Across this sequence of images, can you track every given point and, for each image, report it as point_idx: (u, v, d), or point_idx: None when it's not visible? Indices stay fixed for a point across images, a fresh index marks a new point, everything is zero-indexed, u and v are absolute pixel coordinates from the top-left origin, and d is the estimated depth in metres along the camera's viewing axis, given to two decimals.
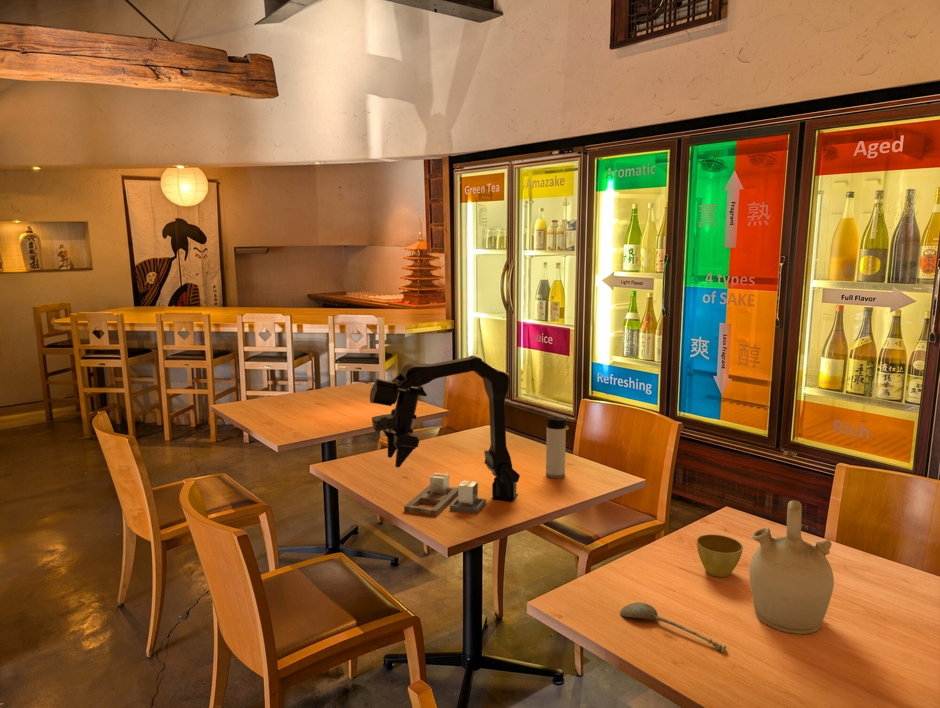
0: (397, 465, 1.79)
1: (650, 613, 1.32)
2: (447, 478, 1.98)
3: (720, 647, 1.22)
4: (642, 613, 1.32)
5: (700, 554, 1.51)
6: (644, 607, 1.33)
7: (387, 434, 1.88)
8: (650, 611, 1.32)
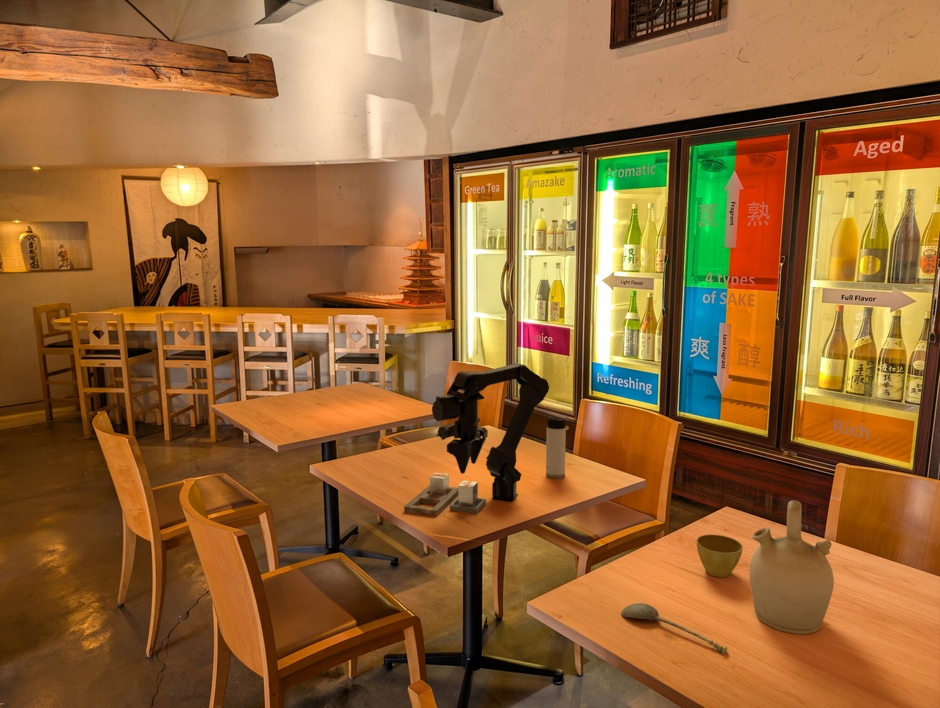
0: (461, 471, 1.84)
1: (651, 614, 1.32)
2: (447, 478, 1.98)
3: (721, 648, 1.22)
4: (643, 613, 1.32)
5: (700, 554, 1.51)
6: (645, 607, 1.33)
7: None
8: (651, 612, 1.32)
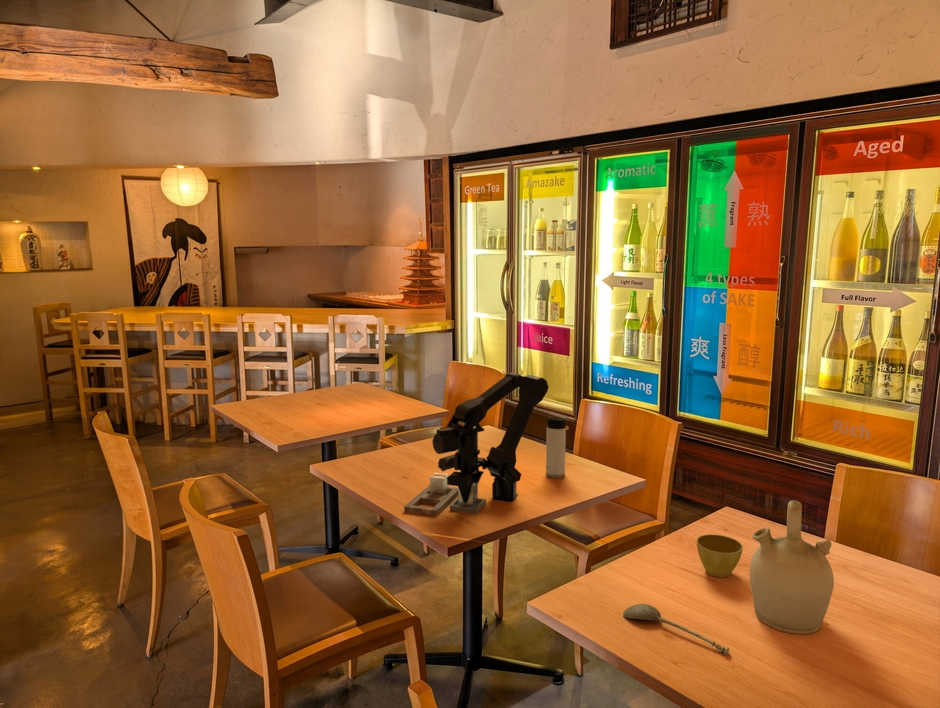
0: (464, 500, 1.88)
1: (653, 614, 1.31)
2: None
3: (723, 649, 1.21)
4: (645, 614, 1.31)
5: (700, 554, 1.51)
6: (647, 608, 1.33)
7: None
8: (653, 613, 1.32)
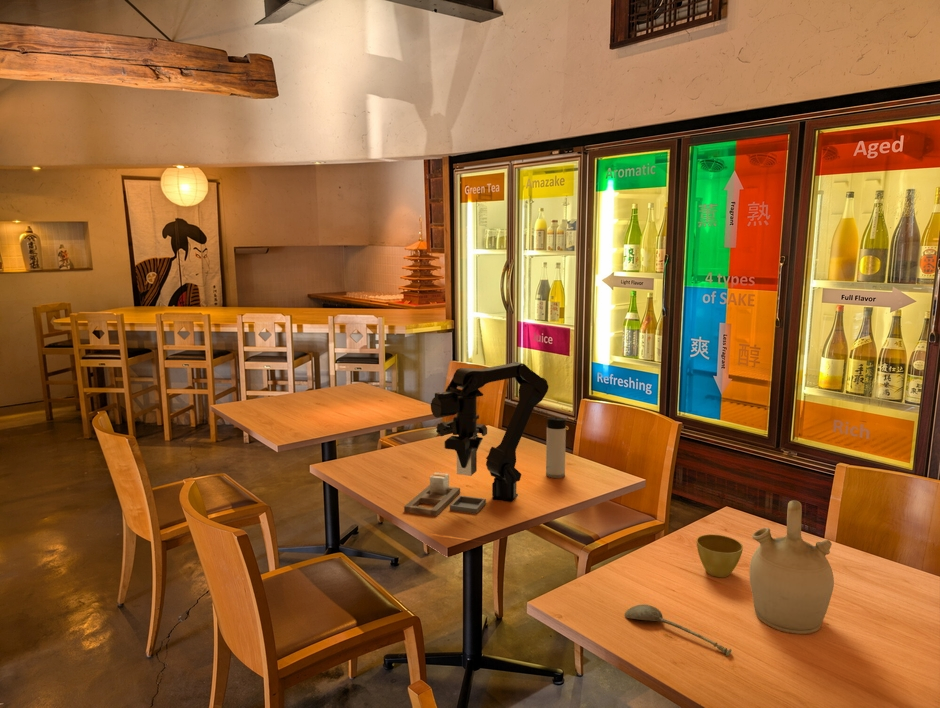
0: (462, 466, 1.86)
1: (655, 615, 1.31)
2: (447, 478, 1.98)
3: (725, 650, 1.21)
4: (647, 615, 1.31)
5: (700, 554, 1.51)
6: (649, 609, 1.33)
7: None
8: (655, 613, 1.32)
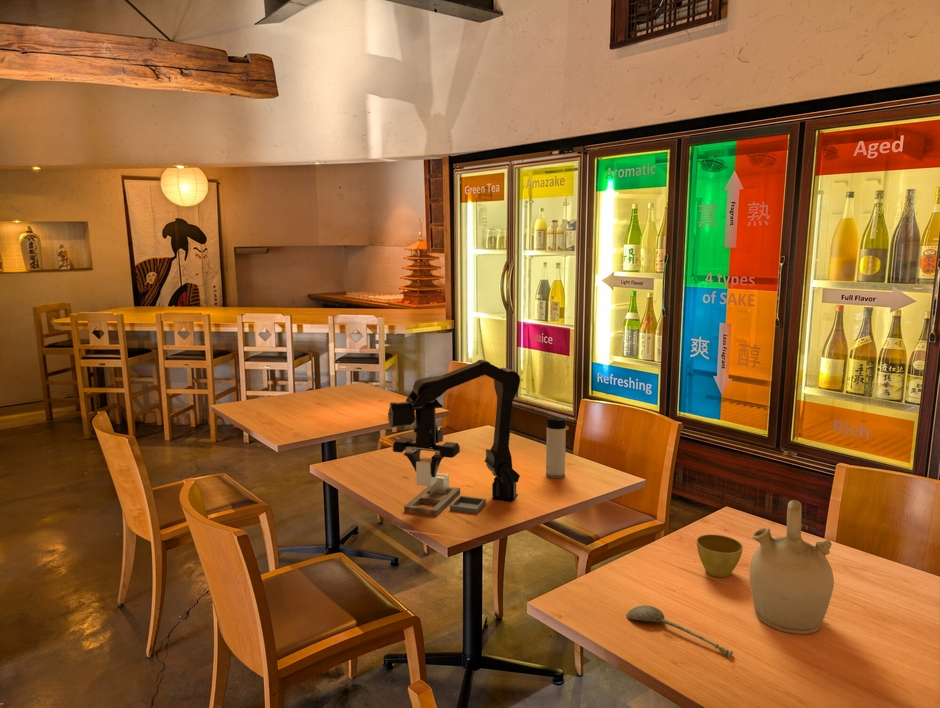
0: None
1: (656, 616, 1.31)
2: (447, 478, 1.98)
3: (726, 652, 1.21)
4: (649, 615, 1.31)
5: (700, 554, 1.51)
6: (650, 610, 1.32)
7: None
8: (657, 614, 1.31)
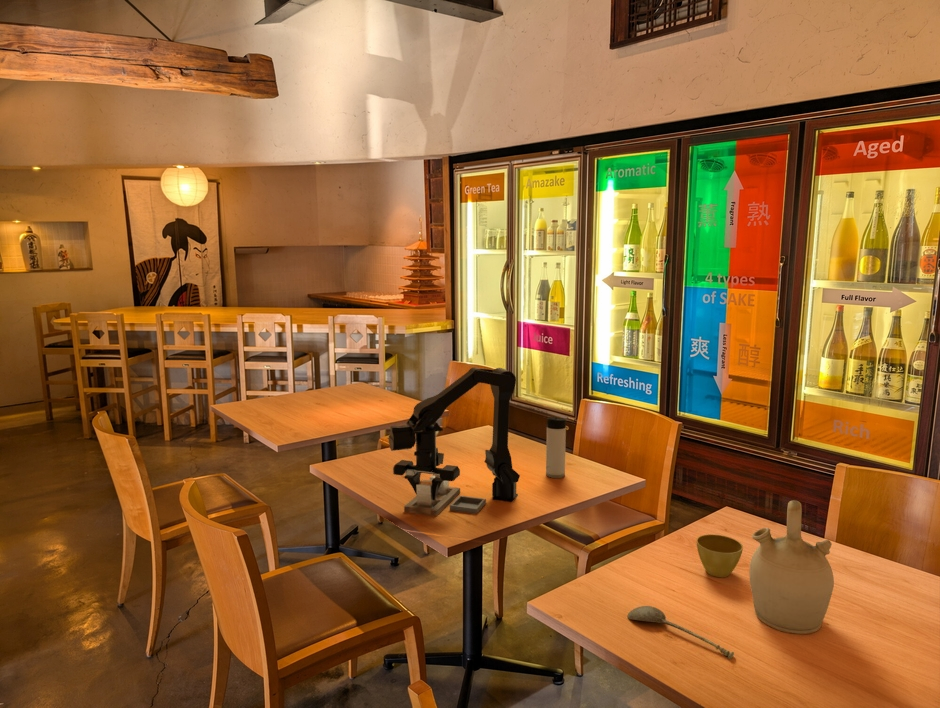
0: None
1: (658, 617, 1.31)
2: None
3: (727, 653, 1.20)
4: (650, 616, 1.31)
5: (700, 554, 1.51)
6: (652, 610, 1.32)
7: None
8: (658, 615, 1.31)
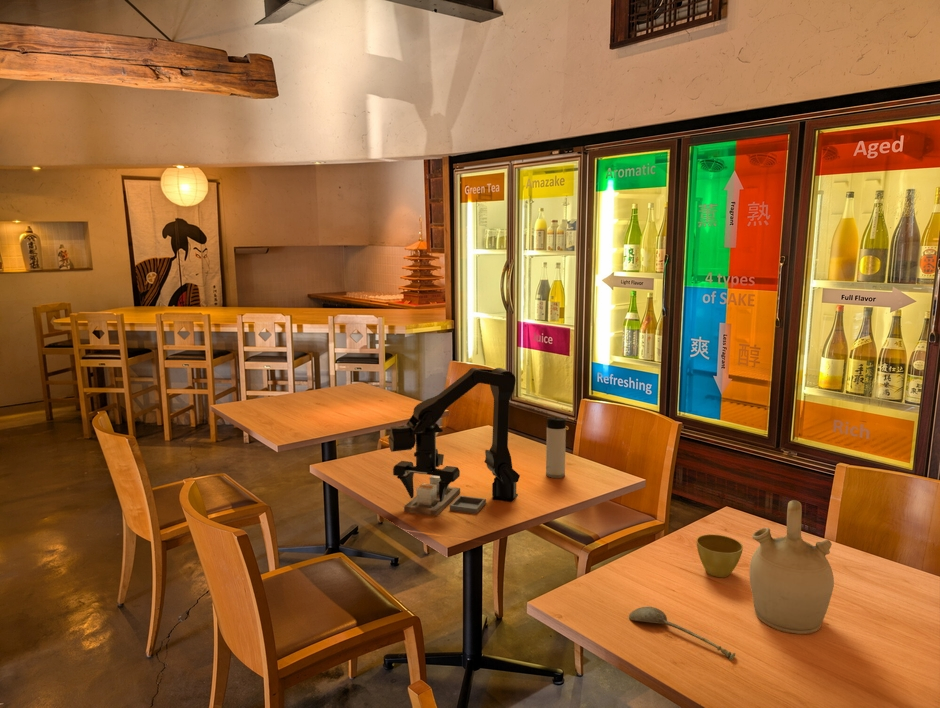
0: None
1: (659, 617, 1.30)
2: None
3: (729, 654, 1.20)
4: (651, 617, 1.30)
5: (700, 554, 1.51)
6: (653, 611, 1.32)
7: None
8: (659, 616, 1.31)
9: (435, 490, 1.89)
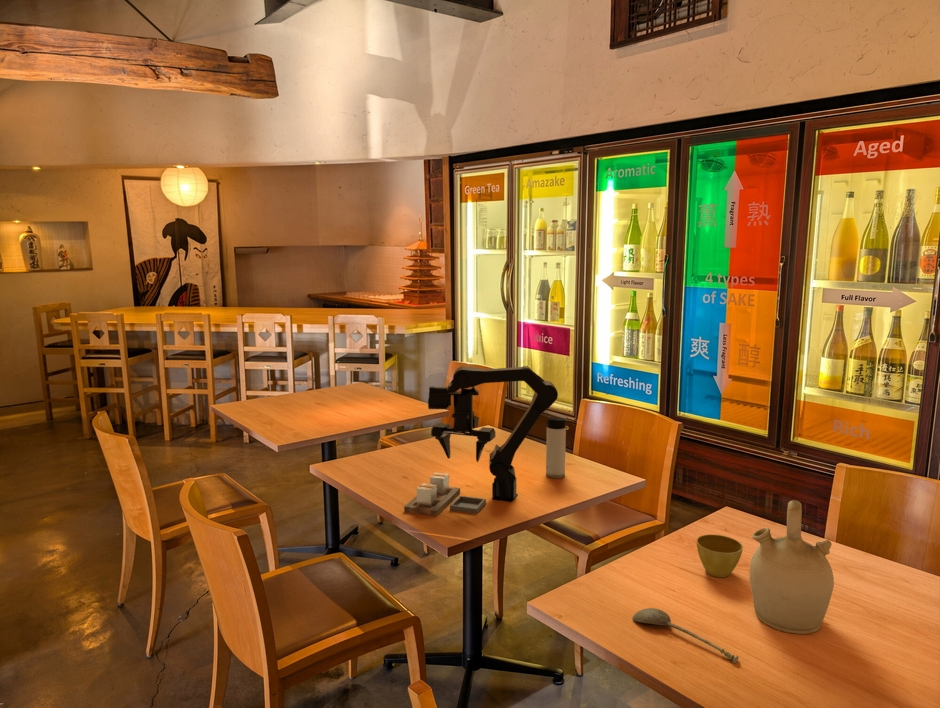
0: None
1: (662, 619, 1.30)
2: (447, 478, 1.98)
3: (732, 657, 1.19)
4: (655, 618, 1.30)
5: (700, 554, 1.51)
6: (657, 612, 1.31)
7: None
8: (663, 617, 1.30)
9: (435, 490, 1.89)
